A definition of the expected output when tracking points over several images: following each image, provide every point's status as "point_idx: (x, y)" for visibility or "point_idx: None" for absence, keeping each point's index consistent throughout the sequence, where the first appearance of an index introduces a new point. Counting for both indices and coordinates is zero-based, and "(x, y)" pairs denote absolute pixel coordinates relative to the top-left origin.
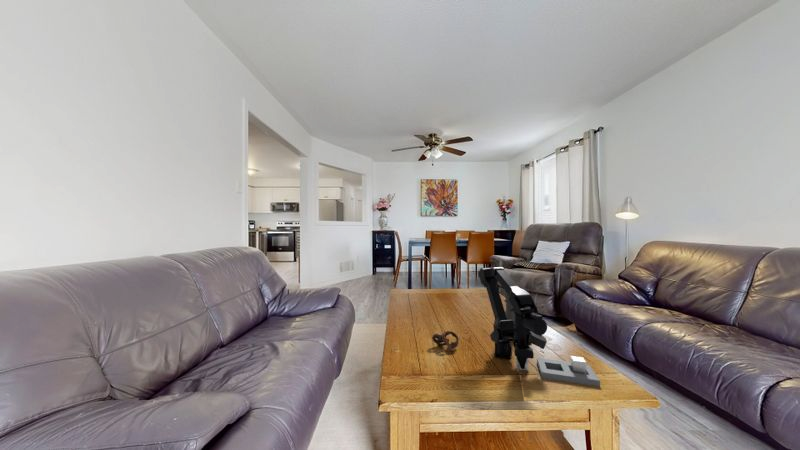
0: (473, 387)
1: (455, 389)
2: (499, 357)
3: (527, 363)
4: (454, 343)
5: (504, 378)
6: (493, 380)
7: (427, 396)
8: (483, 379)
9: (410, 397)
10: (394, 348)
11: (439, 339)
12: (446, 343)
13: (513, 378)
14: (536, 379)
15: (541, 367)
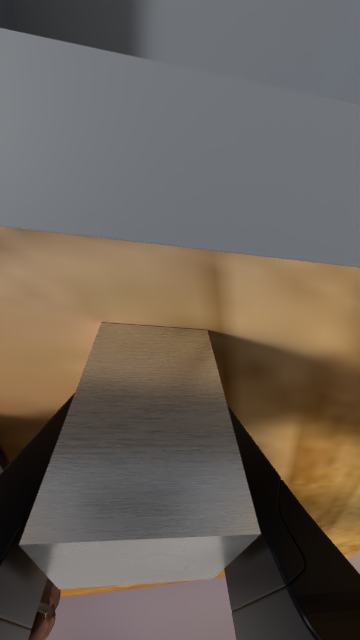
0: (335, 503)
1: (334, 523)
2: (5, 463)
3: (229, 423)
4: (41, 603)
5: (281, 445)
6: (295, 472)
7: (350, 541)
8: None
9: (345, 551)
10: (113, 589)
11: (41, 621)
12: (55, 605)
13: (285, 416)
14: (322, 284)
15: (296, 232)
